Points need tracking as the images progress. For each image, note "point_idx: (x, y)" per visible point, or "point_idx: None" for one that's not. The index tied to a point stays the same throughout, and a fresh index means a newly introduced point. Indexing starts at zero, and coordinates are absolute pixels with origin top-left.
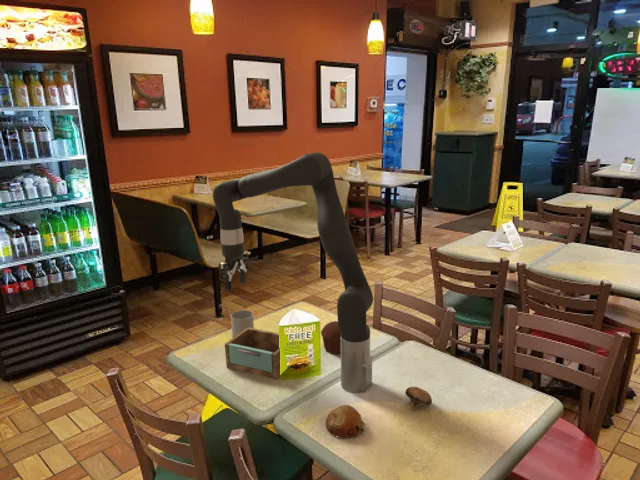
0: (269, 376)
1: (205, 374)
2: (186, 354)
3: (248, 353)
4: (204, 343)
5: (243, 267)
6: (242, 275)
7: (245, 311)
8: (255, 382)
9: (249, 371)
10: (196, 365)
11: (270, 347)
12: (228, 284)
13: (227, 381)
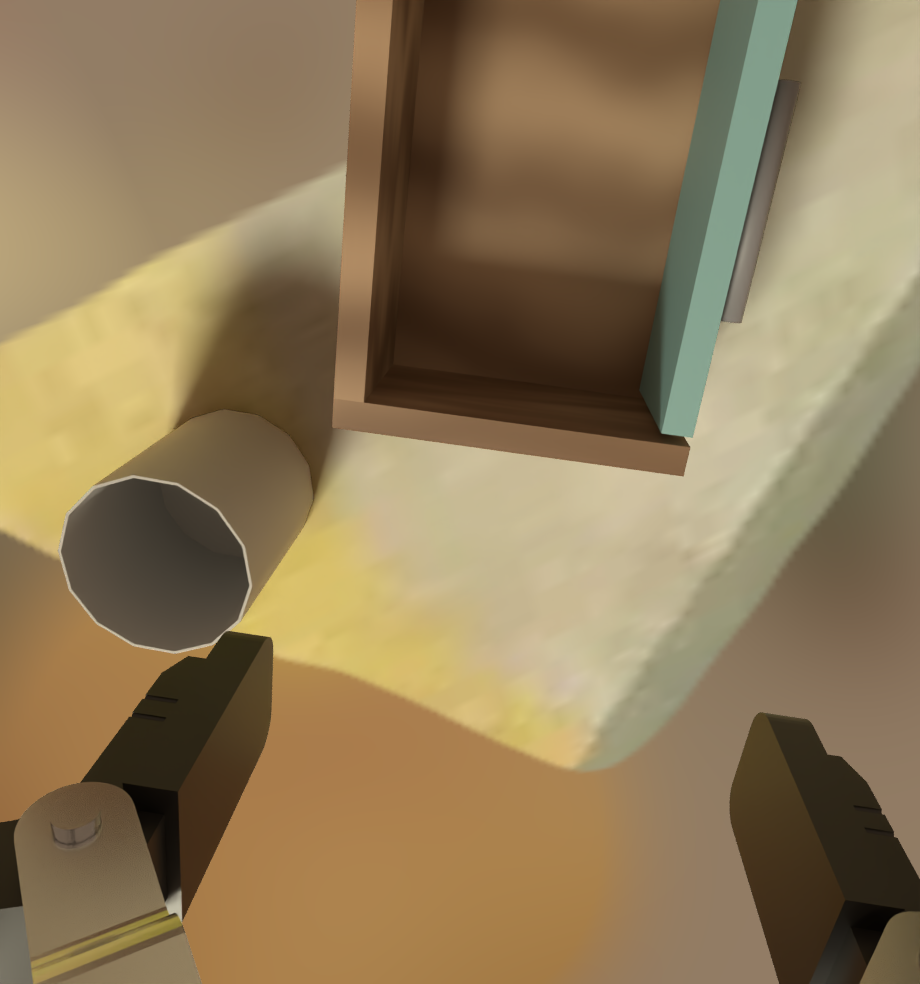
0: None
1: (761, 504)
2: (549, 720)
3: (769, 203)
4: (391, 686)
5: (185, 981)
6: (205, 796)
7: (73, 569)
8: (817, 105)
9: None
10: (663, 607)
11: (405, 157)
12: (896, 867)
13: (828, 322)
